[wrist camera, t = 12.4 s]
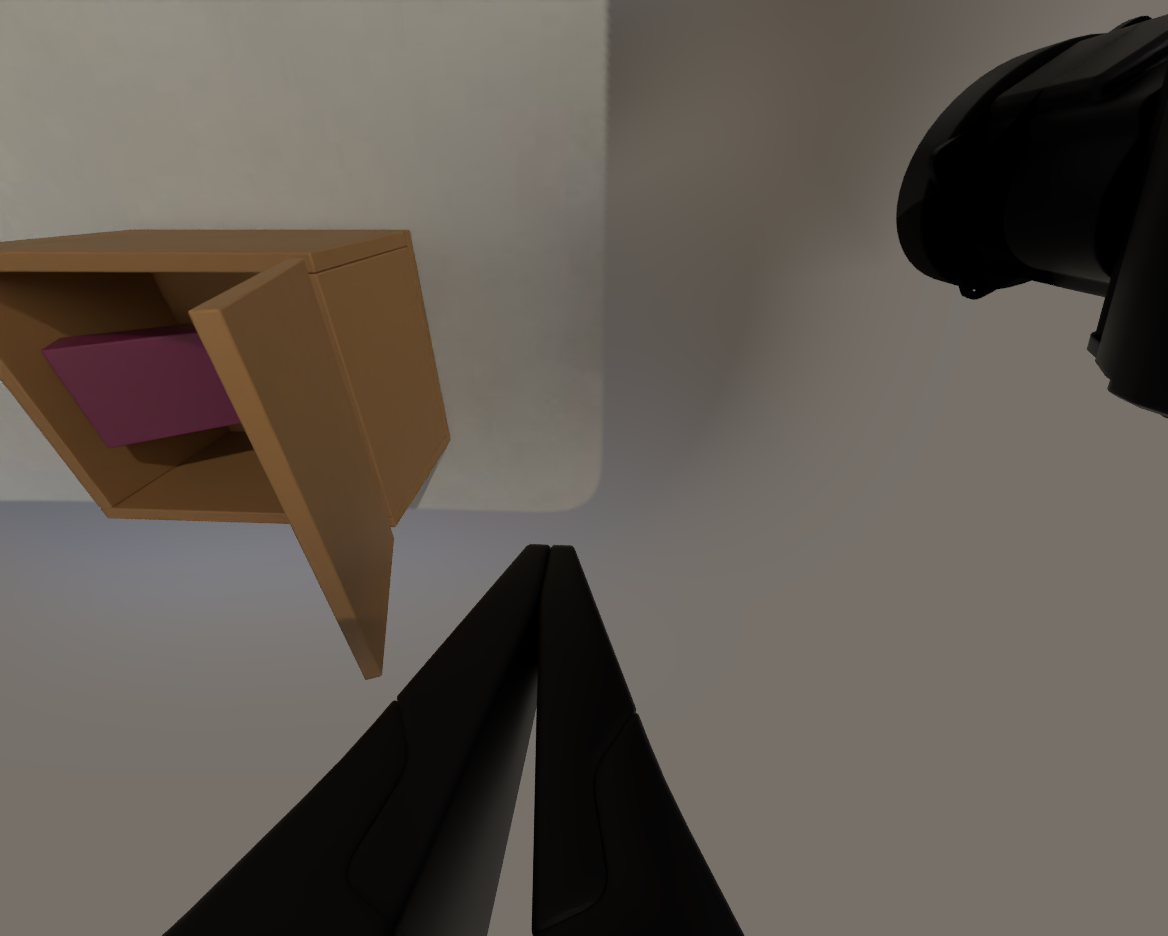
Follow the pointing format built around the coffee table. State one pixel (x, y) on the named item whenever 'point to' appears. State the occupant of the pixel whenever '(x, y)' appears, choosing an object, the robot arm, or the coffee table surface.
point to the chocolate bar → (142, 383)
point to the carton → (163, 298)
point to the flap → (306, 441)
